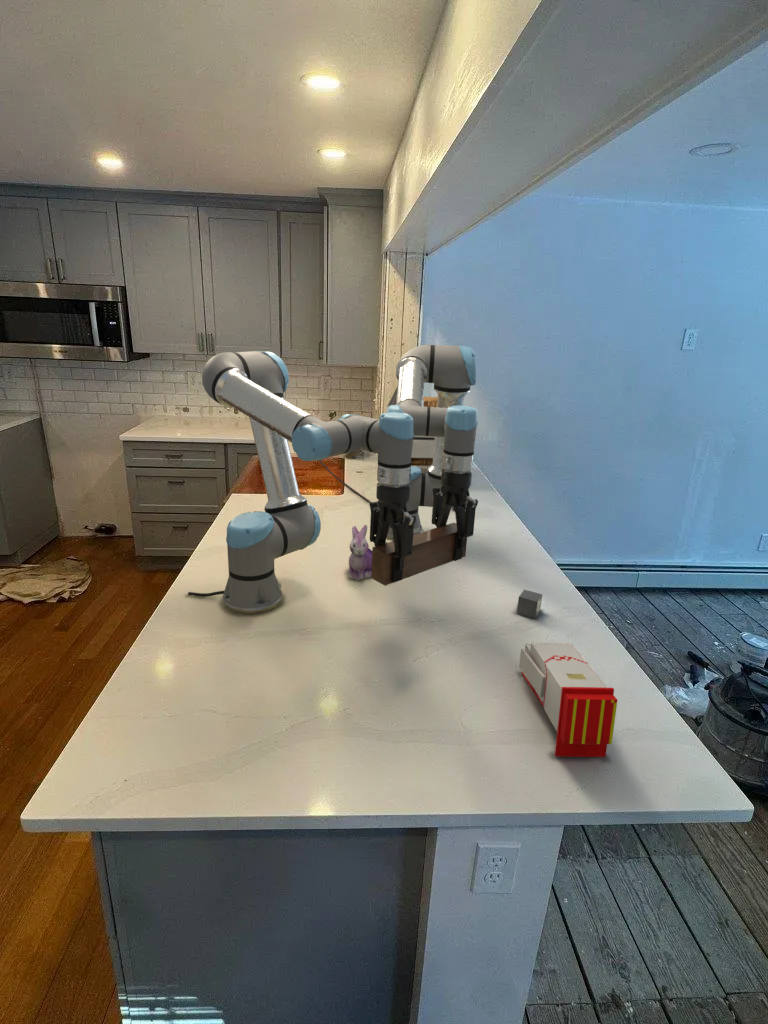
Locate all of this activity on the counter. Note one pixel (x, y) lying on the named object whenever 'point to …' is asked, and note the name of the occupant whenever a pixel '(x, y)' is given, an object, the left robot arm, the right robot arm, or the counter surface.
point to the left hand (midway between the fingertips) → (388, 576)
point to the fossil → (352, 454)
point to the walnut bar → (417, 554)
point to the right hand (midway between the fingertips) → (449, 555)
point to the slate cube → (529, 603)
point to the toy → (570, 698)
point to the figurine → (360, 555)
